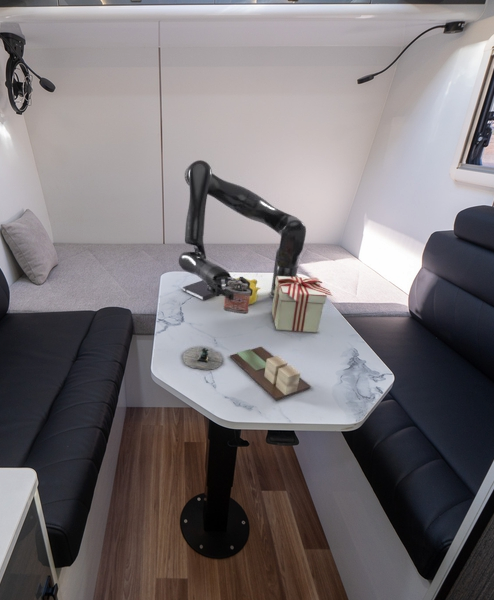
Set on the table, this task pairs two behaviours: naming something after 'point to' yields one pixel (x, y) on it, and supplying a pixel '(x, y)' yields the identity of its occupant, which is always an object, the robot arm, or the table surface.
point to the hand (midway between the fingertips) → (242, 295)
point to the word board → (262, 372)
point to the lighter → (238, 298)
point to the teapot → (254, 288)
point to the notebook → (198, 290)
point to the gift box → (298, 303)
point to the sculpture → (202, 358)
